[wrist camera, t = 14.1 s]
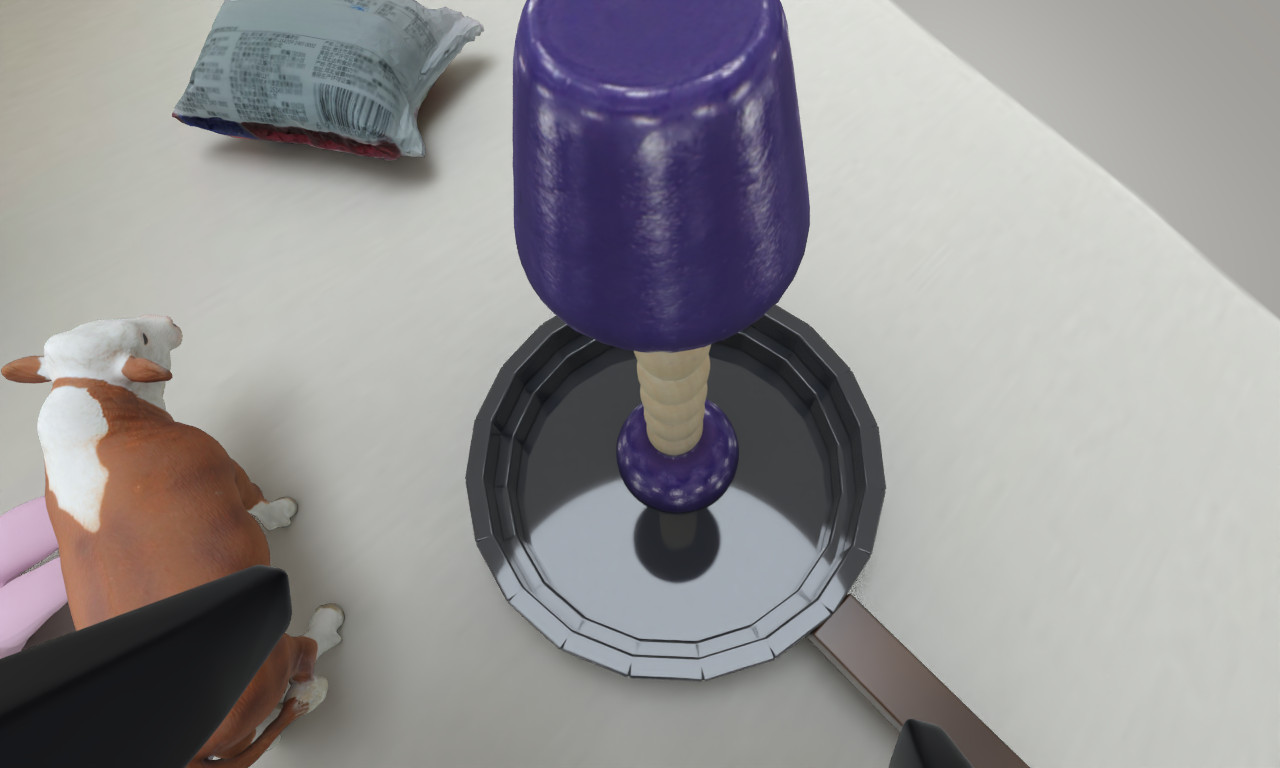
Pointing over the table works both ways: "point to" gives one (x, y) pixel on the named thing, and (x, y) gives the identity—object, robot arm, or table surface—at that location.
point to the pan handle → (904, 684)
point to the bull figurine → (159, 511)
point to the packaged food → (323, 72)
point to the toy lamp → (660, 203)
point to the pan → (666, 541)
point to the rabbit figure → (27, 574)
